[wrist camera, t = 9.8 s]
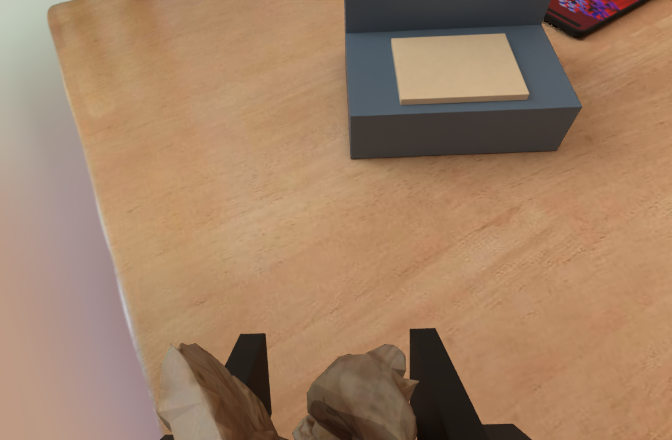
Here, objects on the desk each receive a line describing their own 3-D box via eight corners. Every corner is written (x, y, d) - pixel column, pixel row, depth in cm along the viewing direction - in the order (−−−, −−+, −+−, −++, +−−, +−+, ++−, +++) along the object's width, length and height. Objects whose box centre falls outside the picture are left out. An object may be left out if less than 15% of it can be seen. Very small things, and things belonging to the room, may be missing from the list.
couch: (350, 159, 37) (349, 19, 26) (345, 59, 45) (342, -81, 34) (556, 150, 37) (641, 6, 26) (515, 52, 44) (568, -92, 33)
